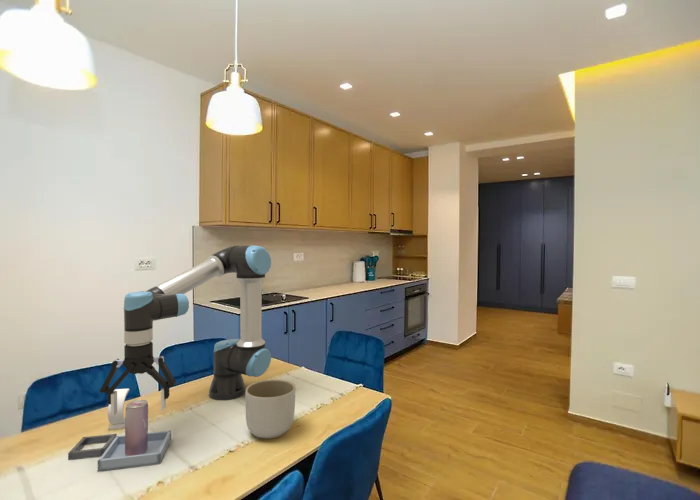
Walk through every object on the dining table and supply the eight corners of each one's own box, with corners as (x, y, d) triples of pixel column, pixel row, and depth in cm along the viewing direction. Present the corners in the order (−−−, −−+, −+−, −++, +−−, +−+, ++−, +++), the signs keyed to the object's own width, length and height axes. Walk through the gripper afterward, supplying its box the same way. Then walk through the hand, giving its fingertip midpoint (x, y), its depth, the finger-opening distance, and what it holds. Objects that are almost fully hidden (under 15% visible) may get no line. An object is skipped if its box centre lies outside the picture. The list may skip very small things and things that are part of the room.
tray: (171, 439, 119) (171, 430, 119) (160, 463, 105) (160, 453, 105) (116, 445, 115) (116, 435, 115) (97, 471, 101) (97, 461, 101)
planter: (250, 449, 113) (251, 401, 113) (240, 425, 129) (241, 383, 129) (301, 437, 121) (302, 392, 121) (286, 416, 136) (287, 376, 136)
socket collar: (116, 439, 118) (116, 433, 118) (104, 455, 109) (104, 449, 109) (83, 443, 116) (83, 437, 116) (68, 460, 107) (68, 453, 107)
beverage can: (131, 447, 113) (131, 399, 113) (151, 446, 113) (151, 399, 113) (120, 458, 107) (121, 407, 107) (141, 457, 107) (142, 407, 107)
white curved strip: (129, 421, 131) (129, 388, 131) (122, 429, 125) (122, 395, 125) (115, 422, 130) (115, 389, 130) (107, 430, 124) (107, 396, 124)
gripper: (185, 337, 117) (185, 401, 117) (97, 342, 111) (98, 410, 111) (180, 343, 110) (180, 412, 110) (86, 349, 103) (86, 422, 104)
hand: (139, 411), depth 110 cm, fingers open, 13 cm apart
